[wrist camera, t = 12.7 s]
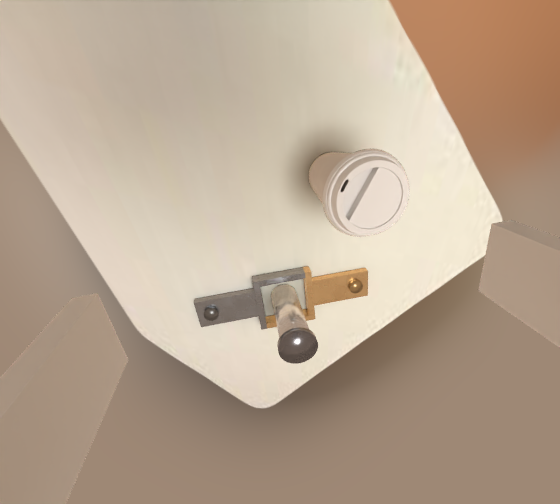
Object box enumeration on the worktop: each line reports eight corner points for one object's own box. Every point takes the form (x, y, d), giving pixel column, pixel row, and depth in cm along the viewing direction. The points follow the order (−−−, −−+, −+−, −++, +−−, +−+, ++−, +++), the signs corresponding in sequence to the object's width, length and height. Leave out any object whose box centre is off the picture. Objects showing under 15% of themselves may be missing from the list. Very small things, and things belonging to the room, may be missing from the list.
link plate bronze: (257, 275, 49) (258, 281, 47) (364, 256, 50) (369, 261, 49) (266, 321, 53) (267, 328, 51) (364, 302, 54) (369, 308, 53)
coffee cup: (335, 125, 41) (385, 128, 27) (372, 175, 45) (433, 200, 31) (285, 174, 43) (309, 199, 29) (325, 218, 46) (363, 259, 33)
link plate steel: (191, 287, 48) (189, 293, 46) (302, 267, 49) (305, 272, 48) (204, 333, 52) (203, 340, 50) (307, 313, 54) (309, 320, 52)
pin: (266, 284, 50) (275, 336, 38) (297, 279, 50) (316, 328, 39) (270, 310, 52) (281, 366, 40) (300, 304, 53) (319, 358, 41)
